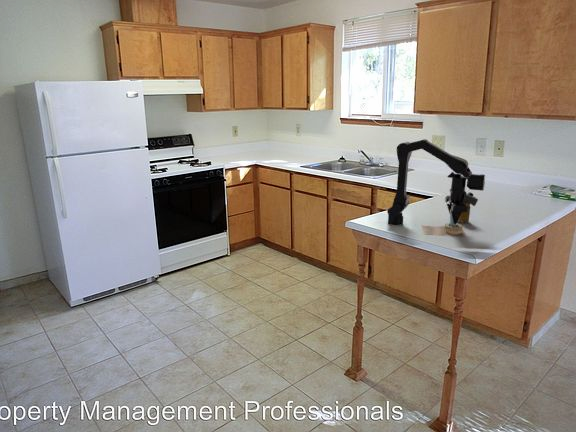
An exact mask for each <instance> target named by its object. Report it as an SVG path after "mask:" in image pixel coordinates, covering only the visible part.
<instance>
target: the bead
mask: <svg viewBox="0 0 576 432" xmlns="http://www.w3.org/2000/svg"><path fill="white" fill-rule="evenodd" d="M444 227H445V229H444V231H445V232H446V233H449V234H461V233H462V229H463V228H464V227H463V225H462V224H461V223H457V227H452V226H450V222H448V223H445V224H444Z"/></svg>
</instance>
